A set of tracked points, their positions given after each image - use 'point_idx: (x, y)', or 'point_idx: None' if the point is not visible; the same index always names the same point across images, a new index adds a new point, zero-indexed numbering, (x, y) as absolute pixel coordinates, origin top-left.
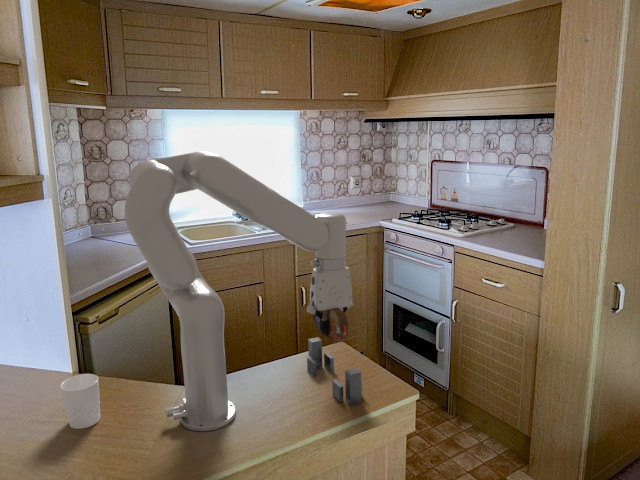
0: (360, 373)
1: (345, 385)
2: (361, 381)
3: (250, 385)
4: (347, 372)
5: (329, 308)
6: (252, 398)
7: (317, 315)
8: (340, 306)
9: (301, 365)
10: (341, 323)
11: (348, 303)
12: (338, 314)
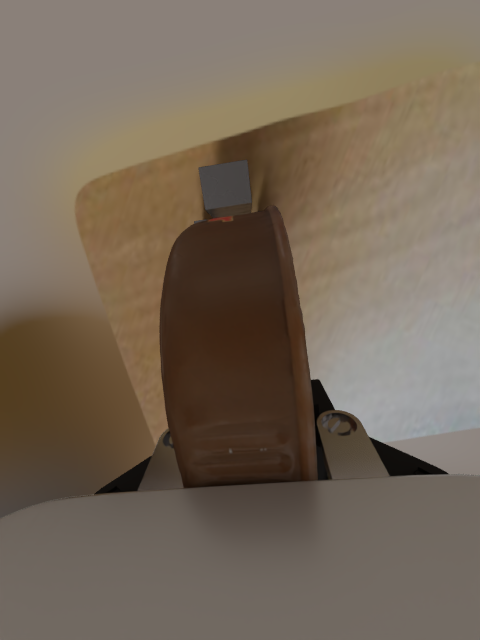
0: (202, 168)
1: (250, 212)
2: (194, 221)
3: (431, 372)
4: (248, 185)
5: (369, 490)
6: (453, 315)
7: (426, 465)
8: (163, 504)
9: None
10: (253, 227)
11: (4, 541)
12: (262, 326)
